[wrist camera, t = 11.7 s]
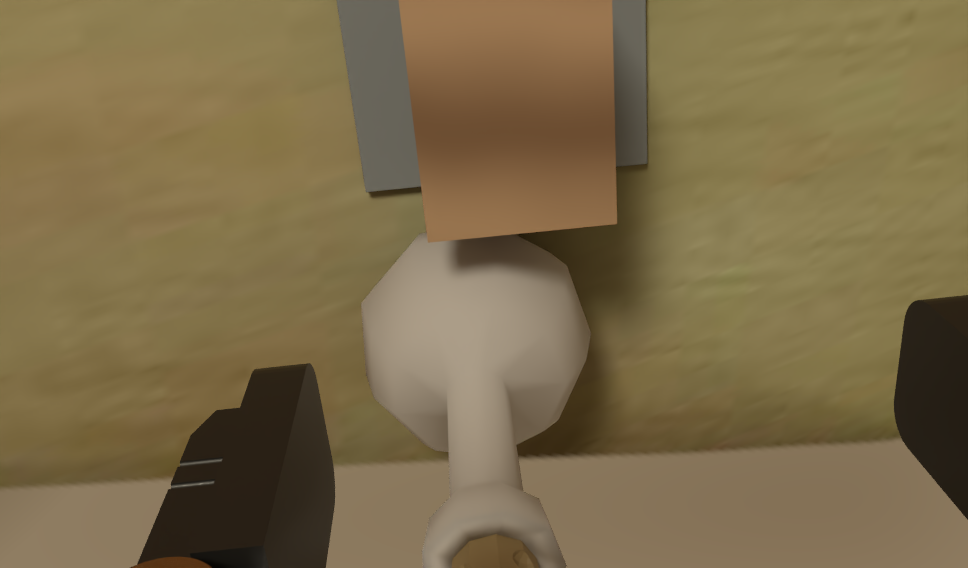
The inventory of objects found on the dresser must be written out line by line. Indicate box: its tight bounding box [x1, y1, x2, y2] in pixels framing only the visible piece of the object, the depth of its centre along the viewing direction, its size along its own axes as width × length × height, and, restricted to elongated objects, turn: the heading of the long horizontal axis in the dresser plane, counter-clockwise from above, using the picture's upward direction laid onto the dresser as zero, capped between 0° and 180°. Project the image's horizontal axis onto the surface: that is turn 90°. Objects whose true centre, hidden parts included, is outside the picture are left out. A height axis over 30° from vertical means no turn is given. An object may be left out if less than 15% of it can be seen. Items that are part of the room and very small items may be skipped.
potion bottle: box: [361, 232, 591, 568], centre depth 29 cm, size 9×9×18 cm
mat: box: [337, 0, 647, 192], centre depth 33 cm, size 11×9×1 cm
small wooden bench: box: [399, 0, 617, 243], centre depth 29 cm, size 8×6×7 cm
